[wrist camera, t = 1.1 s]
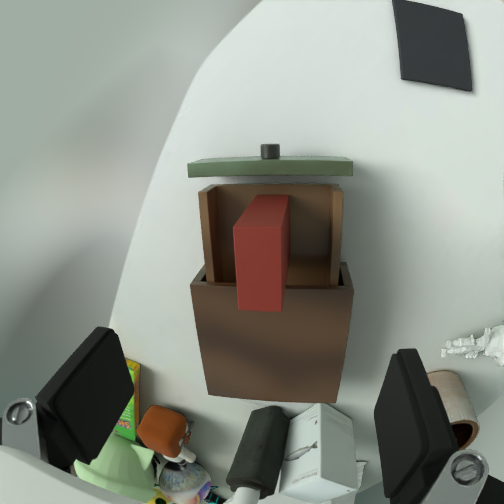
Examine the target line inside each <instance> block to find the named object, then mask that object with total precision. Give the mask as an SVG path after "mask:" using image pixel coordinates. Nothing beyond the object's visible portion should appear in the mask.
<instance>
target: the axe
mask: <svg viewBox="0 0 504 504" xmlns="http://www.w3.org/2000/svg"><path fill="white" fill-rule="evenodd" d="M215 488H218V486H211V488H210V490H211V489H215ZM204 501H206V502H208V504H223V503H224V502H226V501H224V500H222V499H221V498H219V497H218V496H215V495H214V494H212V492H210V491H209V493H208V495H207V496H206V498H205V499H204Z"/></svg>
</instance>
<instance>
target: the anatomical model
mask: <svg viewBox="0 0 504 504" xmlns="http://www.w3.org/2000/svg"><path fill="white" fill-rule="evenodd" d="M159 487H160V490H161V492H162V493H163V494H164V496H165V497H166V498H168V499H169V500H170V501H172V502H174V503H176V504H198V503H200V502H201V501H203V500H204V499H205V498H206V496H207V495H208V493H209V491H210V488H211V479H210V476H209V474H208V473H207V472H206V471H205V470H204V469H203V468H202V467H201V466H200V465H198V464H196V463H194V462H193V463H189V462H188V461H186V463H185V464H184V465H179V464H178V463H177V462H173V461H168V462H167V463H166V464H165V466H164V467H163V469H162V472H161V474H160V477H159Z"/></svg>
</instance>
